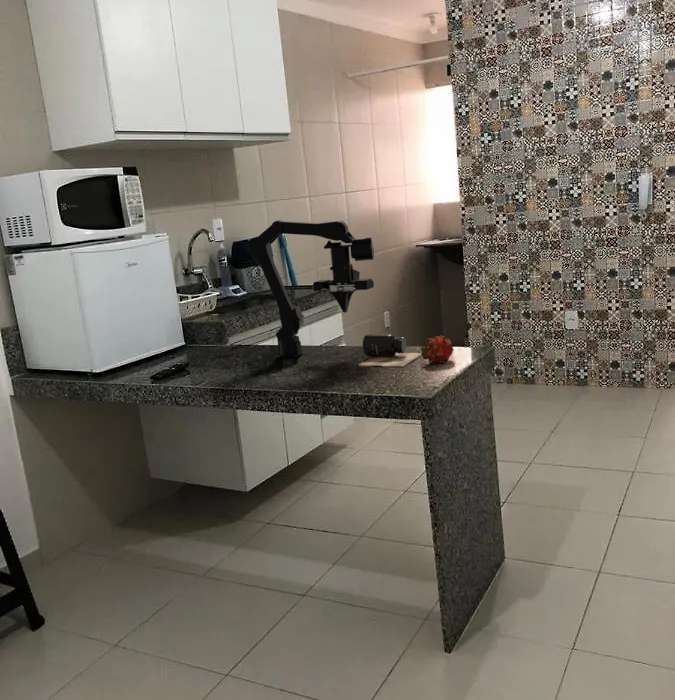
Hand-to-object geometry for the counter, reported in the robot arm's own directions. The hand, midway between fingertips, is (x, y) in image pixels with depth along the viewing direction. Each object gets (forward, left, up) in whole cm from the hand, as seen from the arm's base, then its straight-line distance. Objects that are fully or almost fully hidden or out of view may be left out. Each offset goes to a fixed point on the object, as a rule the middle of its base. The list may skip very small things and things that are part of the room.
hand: (345, 312), depth 233 cm
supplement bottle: (+9, -6, -9) cm, 14 cm away
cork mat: (+18, -8, -13) cm, 24 cm away
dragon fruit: (+33, -9, -13) cm, 37 cm away
